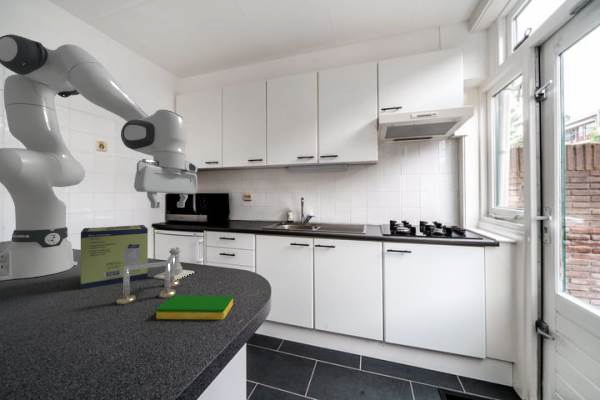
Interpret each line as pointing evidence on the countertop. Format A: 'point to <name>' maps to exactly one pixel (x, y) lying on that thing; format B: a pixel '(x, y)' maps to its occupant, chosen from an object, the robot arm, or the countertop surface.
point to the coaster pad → (178, 276)
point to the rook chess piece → (176, 260)
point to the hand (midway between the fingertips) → (168, 207)
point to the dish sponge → (195, 307)
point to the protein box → (112, 254)
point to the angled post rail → (168, 265)
